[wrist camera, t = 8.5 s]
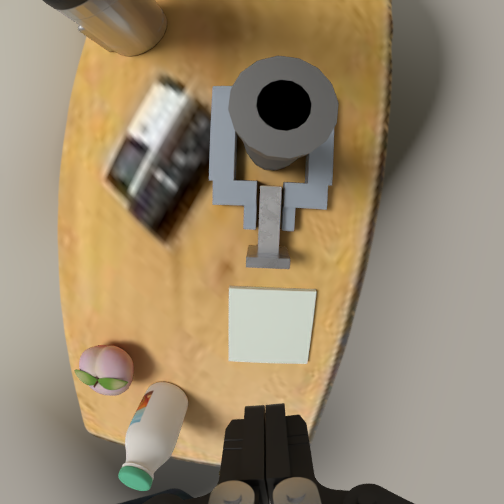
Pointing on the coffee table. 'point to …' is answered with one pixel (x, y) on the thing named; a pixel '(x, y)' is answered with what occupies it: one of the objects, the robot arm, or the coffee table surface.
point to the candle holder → (282, 110)
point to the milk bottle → (153, 434)
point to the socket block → (246, 191)
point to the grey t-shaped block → (269, 233)
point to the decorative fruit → (106, 369)
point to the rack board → (270, 324)
